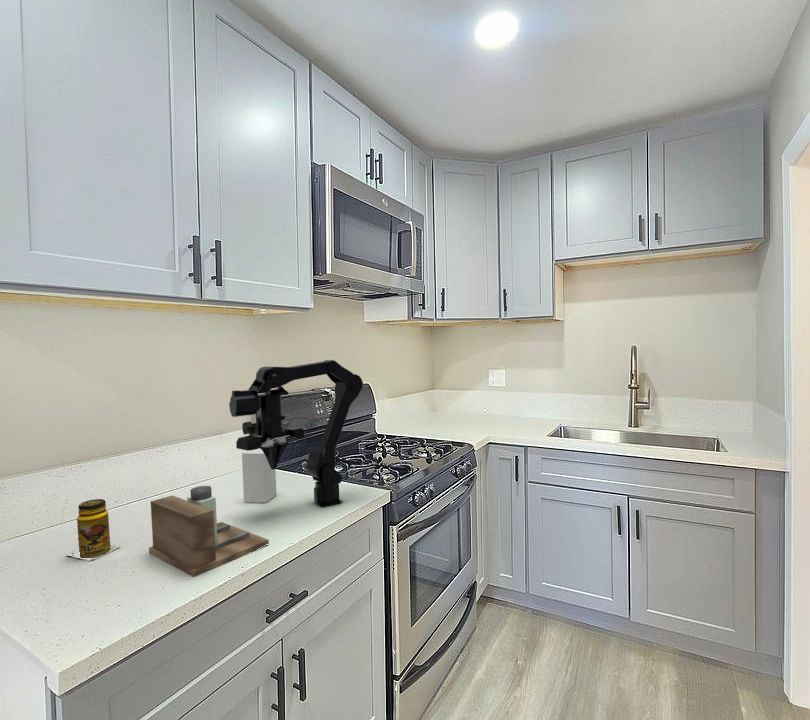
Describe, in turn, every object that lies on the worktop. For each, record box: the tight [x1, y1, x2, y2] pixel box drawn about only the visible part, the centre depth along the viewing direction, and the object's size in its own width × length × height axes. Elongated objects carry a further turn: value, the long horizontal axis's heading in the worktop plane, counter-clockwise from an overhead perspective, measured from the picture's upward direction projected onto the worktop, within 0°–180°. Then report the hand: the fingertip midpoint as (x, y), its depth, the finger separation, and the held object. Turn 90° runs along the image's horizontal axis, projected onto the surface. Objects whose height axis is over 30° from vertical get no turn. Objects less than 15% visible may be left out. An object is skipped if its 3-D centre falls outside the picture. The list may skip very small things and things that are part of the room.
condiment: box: [70, 498, 120, 562], centre depth 110 cm, size 7×8×12 cm
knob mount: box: [148, 494, 270, 577], centre depth 109 cm, size 18×20×12 cm
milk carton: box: [241, 448, 278, 504], centre depth 144 cm, size 7×7×19 cm
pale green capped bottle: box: [186, 485, 218, 544], centre depth 108 cm, size 4×6×13 cm
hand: (273, 469), depth 129 cm, fingers closed
